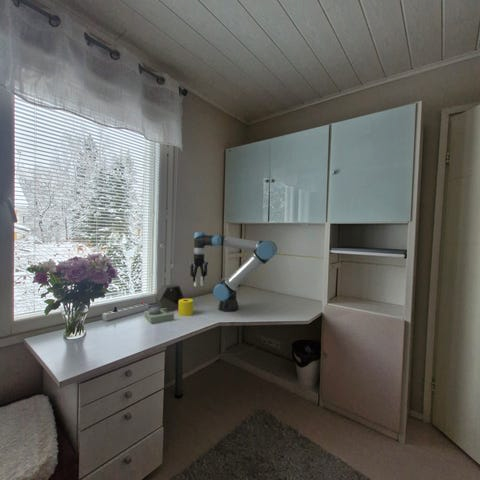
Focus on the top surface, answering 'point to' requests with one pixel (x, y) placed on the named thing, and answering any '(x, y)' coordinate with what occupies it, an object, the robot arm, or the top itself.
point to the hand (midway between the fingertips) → (198, 285)
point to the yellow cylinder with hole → (185, 307)
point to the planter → (169, 297)
